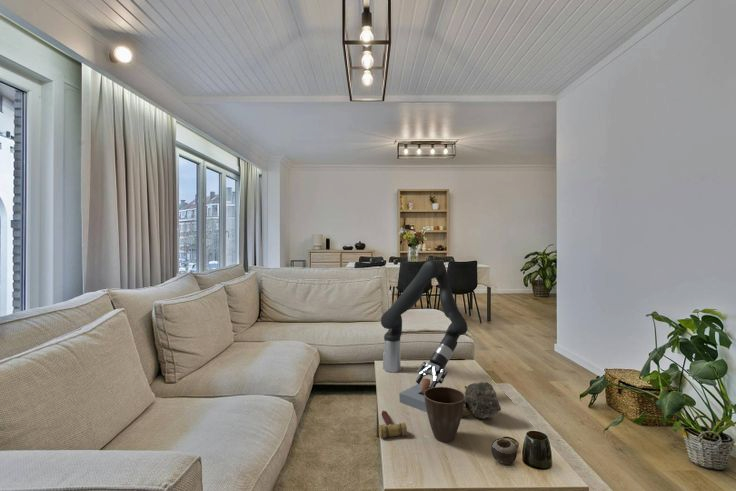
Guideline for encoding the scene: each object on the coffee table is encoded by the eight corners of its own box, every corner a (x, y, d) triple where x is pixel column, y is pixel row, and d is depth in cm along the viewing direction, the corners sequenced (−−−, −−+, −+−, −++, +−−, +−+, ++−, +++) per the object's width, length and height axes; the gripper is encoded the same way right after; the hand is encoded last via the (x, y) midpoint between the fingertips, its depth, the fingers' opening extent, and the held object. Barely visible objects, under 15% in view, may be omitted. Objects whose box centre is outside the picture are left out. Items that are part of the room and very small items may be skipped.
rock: (497, 375, 152) (465, 372, 149) (507, 411, 143) (473, 409, 139) (476, 392, 165) (445, 389, 162) (484, 426, 155) (452, 424, 152)
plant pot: (436, 423, 147) (436, 383, 147) (471, 435, 138) (471, 393, 138) (416, 438, 136) (416, 395, 135) (453, 453, 126) (453, 407, 126)
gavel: (371, 406, 156) (394, 404, 157) (371, 417, 156) (394, 415, 157) (380, 428, 135) (406, 425, 137) (381, 440, 135) (407, 438, 136)
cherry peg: (419, 402, 166) (419, 380, 166) (424, 399, 169) (424, 377, 169) (427, 404, 163) (427, 382, 163) (432, 401, 167) (432, 379, 166)
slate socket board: (399, 401, 167) (399, 393, 167) (419, 391, 178) (419, 383, 178) (432, 414, 154) (432, 405, 154) (452, 402, 166) (452, 393, 166)
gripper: (426, 347, 176) (408, 376, 170) (448, 355, 164) (430, 386, 158) (434, 356, 179) (417, 385, 173) (456, 364, 167) (439, 395, 161)
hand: (423, 386), depth 165 cm, fingers open, 8 cm apart
